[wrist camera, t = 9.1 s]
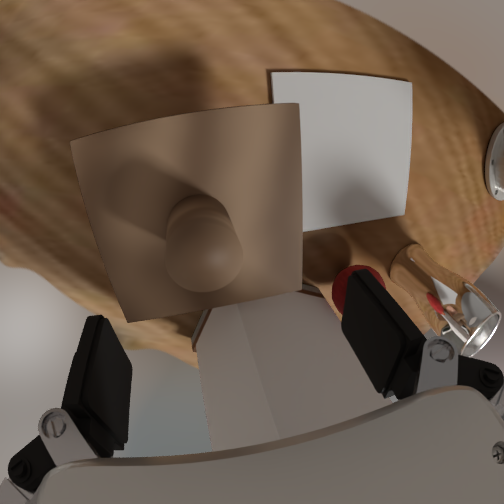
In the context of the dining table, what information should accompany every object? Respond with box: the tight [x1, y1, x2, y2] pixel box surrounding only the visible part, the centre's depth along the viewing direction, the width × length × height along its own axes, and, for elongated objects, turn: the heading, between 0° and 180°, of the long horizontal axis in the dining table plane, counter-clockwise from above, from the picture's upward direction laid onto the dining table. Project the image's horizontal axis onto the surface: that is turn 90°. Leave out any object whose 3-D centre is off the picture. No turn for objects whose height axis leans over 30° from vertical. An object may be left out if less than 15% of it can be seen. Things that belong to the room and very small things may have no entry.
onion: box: [332, 265, 386, 315], centre depth 30 cm, size 6×6×8 cm
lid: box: [70, 103, 303, 323], centre depth 17 cm, size 14×14×6 cm
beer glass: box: [390, 244, 501, 358], centre depth 29 cm, size 7×7×15 cm
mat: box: [270, 72, 412, 232], centre depth 26 cm, size 15×15×1 cm
